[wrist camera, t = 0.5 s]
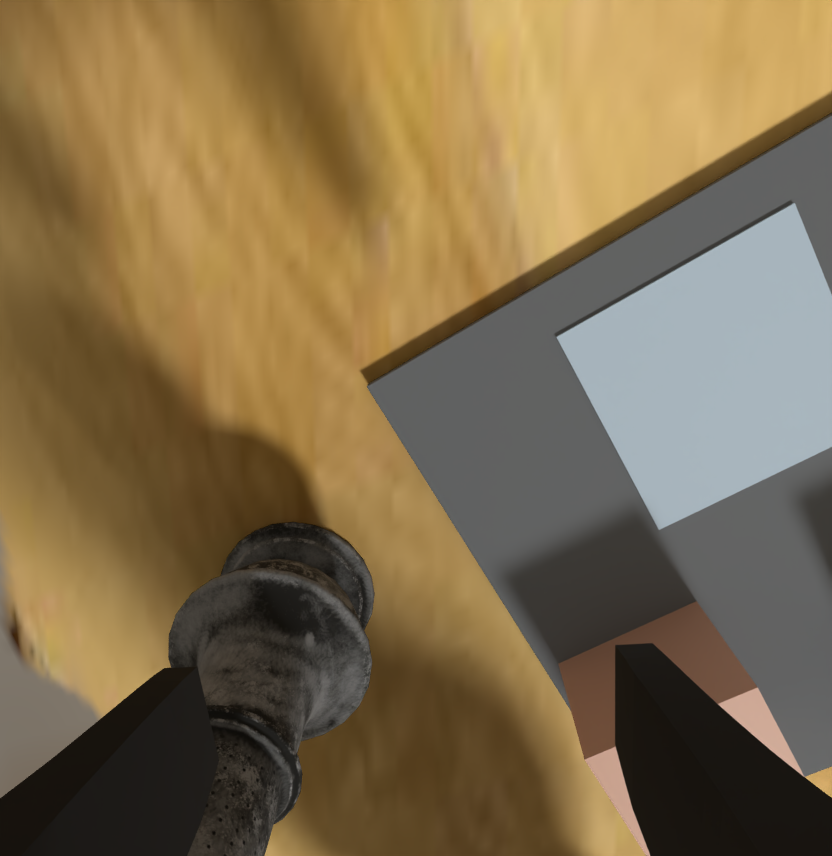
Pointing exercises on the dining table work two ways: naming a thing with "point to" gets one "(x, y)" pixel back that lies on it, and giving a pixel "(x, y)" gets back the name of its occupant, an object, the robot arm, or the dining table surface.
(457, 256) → the dining table surface
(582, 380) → the grey mat
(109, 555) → the dining table surface
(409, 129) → the dining table surface
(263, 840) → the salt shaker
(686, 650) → the terracotta brick
